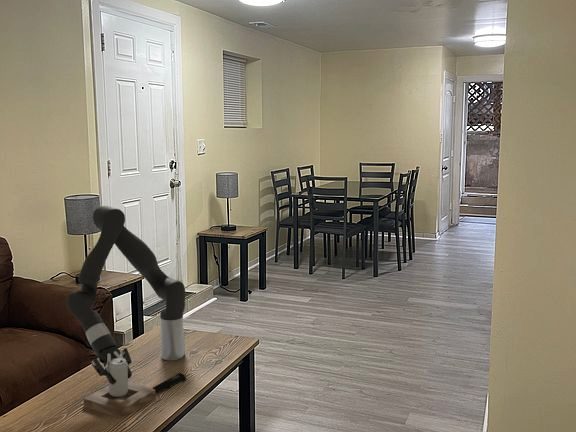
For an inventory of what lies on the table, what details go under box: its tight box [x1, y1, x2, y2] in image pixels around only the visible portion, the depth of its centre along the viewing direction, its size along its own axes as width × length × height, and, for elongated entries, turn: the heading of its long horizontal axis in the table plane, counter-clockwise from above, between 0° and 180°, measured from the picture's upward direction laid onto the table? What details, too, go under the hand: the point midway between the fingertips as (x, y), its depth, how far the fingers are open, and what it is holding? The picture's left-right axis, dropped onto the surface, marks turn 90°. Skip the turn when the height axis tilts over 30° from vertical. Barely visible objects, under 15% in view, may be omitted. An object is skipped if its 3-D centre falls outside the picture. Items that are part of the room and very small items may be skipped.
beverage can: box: [108, 357, 129, 398], centre depth 199 cm, size 6×6×12 cm
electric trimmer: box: [152, 372, 187, 393], centre depth 213 cm, size 4×16×3 cm, turn 147°
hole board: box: [82, 381, 156, 419], centre depth 200 cm, size 17×17×3 cm
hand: (122, 380), depth 198 cm, fingers closed on beverage can, 5 cm apart
